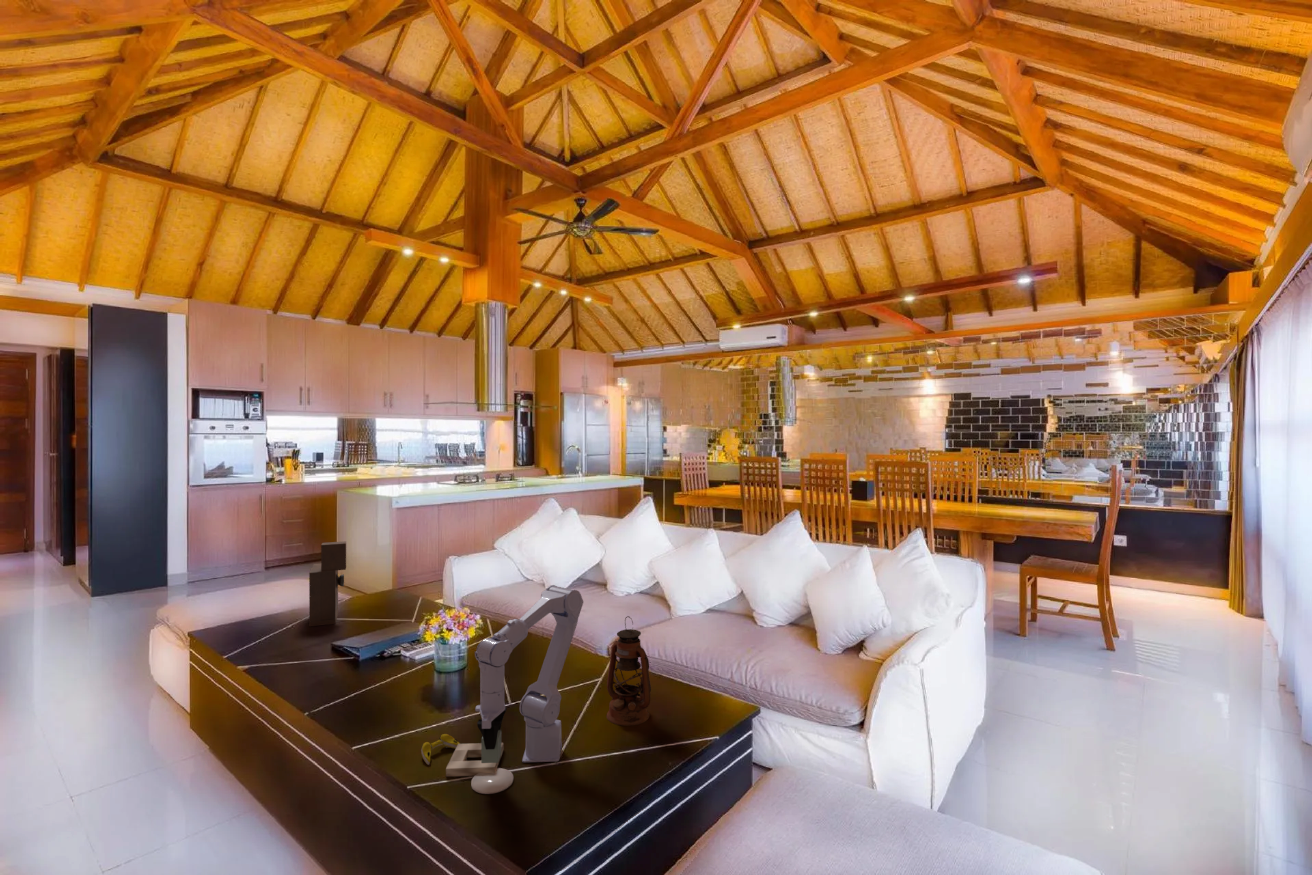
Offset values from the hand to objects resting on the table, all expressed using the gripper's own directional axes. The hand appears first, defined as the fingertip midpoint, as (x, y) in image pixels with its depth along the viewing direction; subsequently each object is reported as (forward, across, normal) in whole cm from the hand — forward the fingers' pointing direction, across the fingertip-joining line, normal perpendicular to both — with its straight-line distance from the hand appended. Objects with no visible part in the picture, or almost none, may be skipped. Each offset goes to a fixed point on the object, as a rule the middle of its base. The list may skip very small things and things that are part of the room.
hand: (492, 743), depth 151 cm
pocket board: (+9, -9, -6) cm, 14 cm away
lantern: (+10, -33, +34) cm, 48 cm away
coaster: (+9, 0, 0) cm, 9 cm away
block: (+4, 0, 0) cm, 4 cm away
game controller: (+10, -14, -17) cm, 24 cm away
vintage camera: (+10, -134, -100) cm, 167 cm away
